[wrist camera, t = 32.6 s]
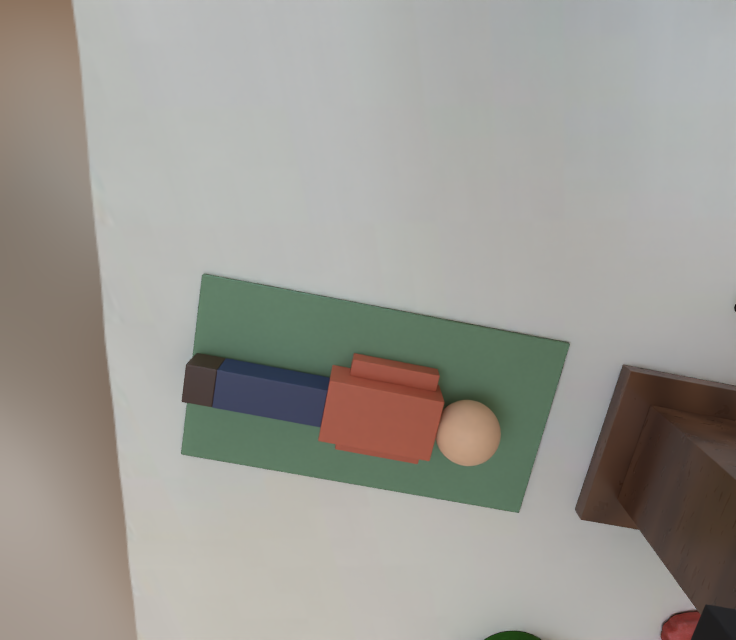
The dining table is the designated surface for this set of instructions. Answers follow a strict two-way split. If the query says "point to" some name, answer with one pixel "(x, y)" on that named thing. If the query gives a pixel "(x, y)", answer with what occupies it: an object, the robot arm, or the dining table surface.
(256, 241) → the dining table surface
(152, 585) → the dining table surface
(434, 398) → the doll
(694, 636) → the robot arm
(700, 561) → the stand
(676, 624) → the stacking bear
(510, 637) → the candle
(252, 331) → the play mat
